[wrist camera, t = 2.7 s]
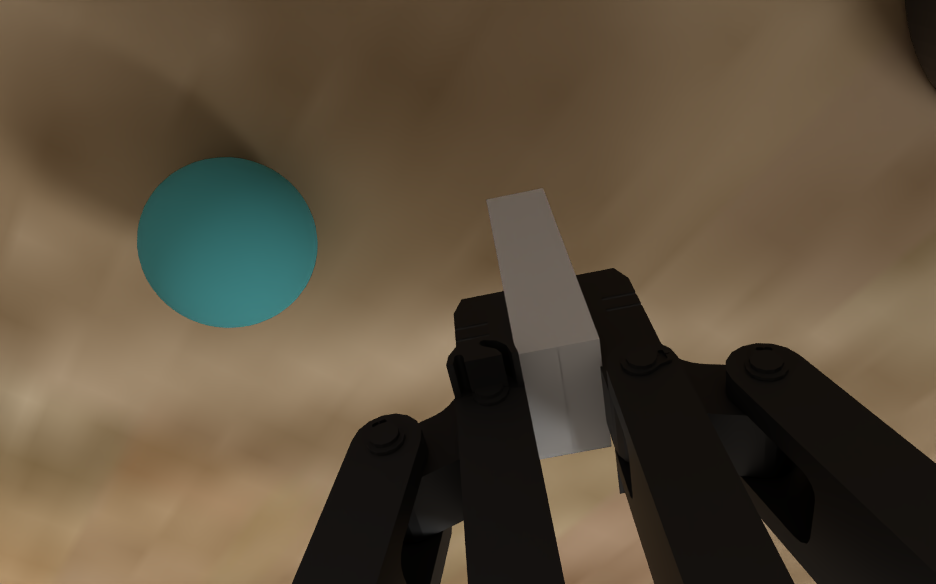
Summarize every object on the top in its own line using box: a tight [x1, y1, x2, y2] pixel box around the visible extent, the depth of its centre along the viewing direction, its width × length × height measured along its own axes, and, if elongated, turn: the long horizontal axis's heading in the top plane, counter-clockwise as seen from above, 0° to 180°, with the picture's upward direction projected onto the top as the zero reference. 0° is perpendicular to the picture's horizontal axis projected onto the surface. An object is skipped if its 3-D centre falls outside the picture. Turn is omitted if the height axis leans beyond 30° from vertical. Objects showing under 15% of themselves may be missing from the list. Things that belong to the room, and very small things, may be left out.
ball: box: [137, 157, 317, 328], centre depth 22 cm, size 6×6×6 cm
